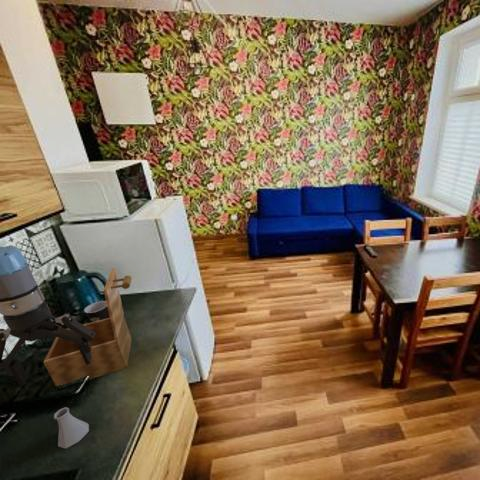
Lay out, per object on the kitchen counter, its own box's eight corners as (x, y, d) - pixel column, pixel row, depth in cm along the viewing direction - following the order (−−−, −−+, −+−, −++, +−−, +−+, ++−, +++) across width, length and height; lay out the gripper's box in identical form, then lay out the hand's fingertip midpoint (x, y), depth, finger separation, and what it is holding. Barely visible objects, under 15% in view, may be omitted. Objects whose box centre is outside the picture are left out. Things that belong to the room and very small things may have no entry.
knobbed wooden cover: (103, 290, 88) (126, 286, 91) (111, 268, 102) (131, 265, 105) (115, 340, 95) (136, 335, 98) (121, 313, 109) (140, 310, 112)
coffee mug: (86, 329, 120) (79, 311, 116) (105, 317, 128) (98, 299, 124) (107, 333, 117) (100, 315, 114) (124, 320, 125) (118, 303, 121)
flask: (83, 418, 83) (72, 396, 79) (94, 430, 80) (82, 408, 76) (53, 439, 77) (39, 417, 74) (63, 454, 74) (49, 431, 70)
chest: (58, 390, 92) (43, 362, 87) (72, 356, 106) (59, 330, 101) (127, 367, 101) (116, 341, 96) (131, 338, 115) (122, 314, 110)
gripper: (-63, 335, 57) (-14, 402, 65) (85, 300, 68) (111, 362, 76) (-42, 315, 63) (1, 379, 71) (91, 286, 74) (114, 345, 82)
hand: (58, 370), depth 73 cm, fingers open, 13 cm apart
